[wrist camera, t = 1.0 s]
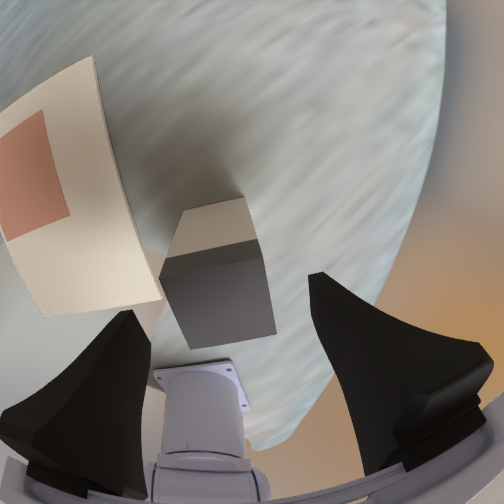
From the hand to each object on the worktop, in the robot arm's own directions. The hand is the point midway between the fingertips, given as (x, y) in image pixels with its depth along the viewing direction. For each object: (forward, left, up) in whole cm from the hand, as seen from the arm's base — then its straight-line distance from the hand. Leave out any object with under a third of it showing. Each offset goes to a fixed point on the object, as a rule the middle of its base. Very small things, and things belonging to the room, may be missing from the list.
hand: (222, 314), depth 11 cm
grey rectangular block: (0, 0, -8) cm, 8 cm away
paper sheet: (+5, +12, -8) cm, 15 cm away
